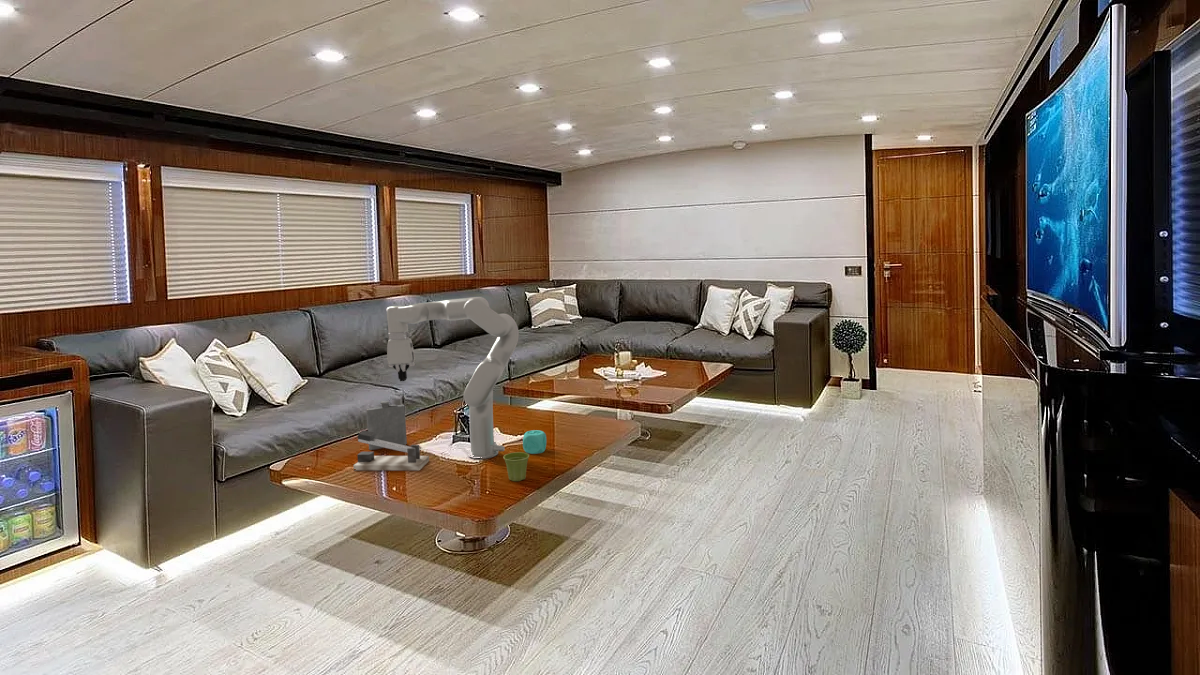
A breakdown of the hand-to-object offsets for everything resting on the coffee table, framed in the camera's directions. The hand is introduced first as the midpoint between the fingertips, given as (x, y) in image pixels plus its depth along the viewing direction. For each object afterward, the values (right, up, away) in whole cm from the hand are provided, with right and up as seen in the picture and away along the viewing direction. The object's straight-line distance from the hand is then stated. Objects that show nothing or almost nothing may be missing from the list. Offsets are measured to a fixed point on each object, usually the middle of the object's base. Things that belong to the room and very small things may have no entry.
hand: (402, 380), depth 271 cm
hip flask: (-12, -30, +18) cm, 37 cm away
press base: (-2, -33, -8) cm, 34 cm away
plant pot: (+50, -35, -27) cm, 66 cm away
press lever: (-4, -25, -9) cm, 27 cm away
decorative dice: (+53, -30, +7) cm, 62 cm away
